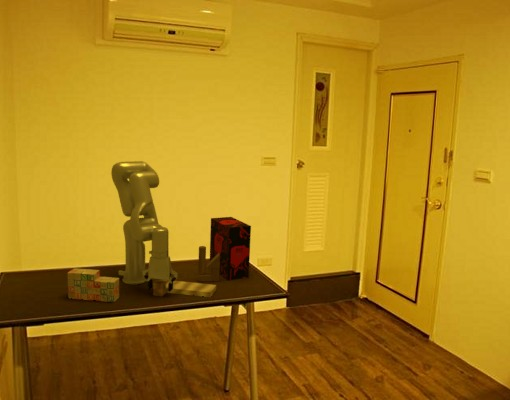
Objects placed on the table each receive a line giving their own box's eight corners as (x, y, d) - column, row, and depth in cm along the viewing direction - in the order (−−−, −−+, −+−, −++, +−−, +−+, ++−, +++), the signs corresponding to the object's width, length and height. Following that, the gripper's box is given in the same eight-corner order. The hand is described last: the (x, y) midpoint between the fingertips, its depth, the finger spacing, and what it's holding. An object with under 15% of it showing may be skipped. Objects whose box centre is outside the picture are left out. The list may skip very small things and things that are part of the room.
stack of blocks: (119, 297, 202) (119, 271, 200) (113, 302, 196) (113, 276, 194) (74, 293, 204) (74, 267, 202) (67, 298, 198) (67, 272, 196)
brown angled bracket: (219, 281, 227) (220, 247, 224) (198, 282, 225) (198, 247, 222) (218, 279, 231) (219, 245, 228) (197, 279, 228) (198, 245, 225)
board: (153, 291, 211) (153, 286, 210) (161, 283, 220) (161, 279, 220) (210, 297, 206) (211, 292, 206) (216, 289, 216) (216, 285, 216)
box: (209, 267, 249) (210, 218, 244) (229, 264, 255) (231, 216, 250) (227, 280, 229) (229, 227, 224) (248, 277, 235) (250, 225, 230)
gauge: (153, 295, 206) (153, 283, 205) (164, 284, 220) (164, 273, 219) (162, 296, 205) (162, 284, 204) (172, 285, 219) (173, 273, 218)
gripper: (139, 254, 202) (139, 291, 204) (175, 257, 199) (175, 294, 202) (145, 250, 209) (146, 285, 212) (180, 253, 206) (180, 288, 209)
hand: (160, 289), depth 207 cm, fingers open, 9 cm apart
